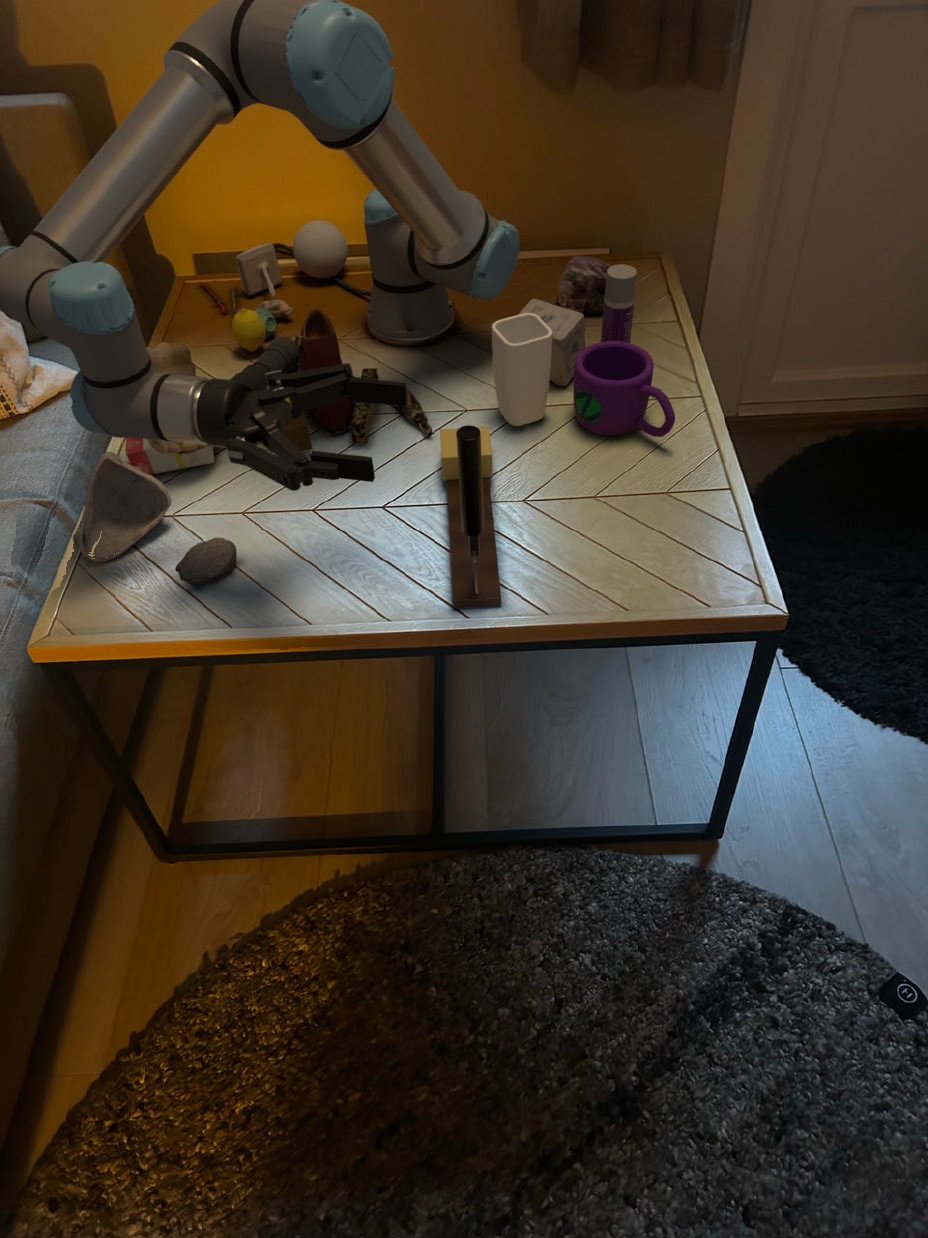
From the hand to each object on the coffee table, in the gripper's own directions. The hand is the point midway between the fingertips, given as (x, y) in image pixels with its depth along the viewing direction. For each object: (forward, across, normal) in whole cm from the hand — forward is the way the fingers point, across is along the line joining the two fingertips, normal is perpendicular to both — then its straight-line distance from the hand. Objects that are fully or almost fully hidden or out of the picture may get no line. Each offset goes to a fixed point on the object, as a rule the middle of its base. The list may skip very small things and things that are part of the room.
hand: (390, 430), depth 99 cm
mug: (+24, -38, -24) cm, 51 cm away
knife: (+9, 0, -22) cm, 24 cm away
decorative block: (-16, -34, -24) cm, 45 cm away
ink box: (-47, -18, -22) cm, 55 cm away
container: (+20, -56, -24) cm, 64 cm away
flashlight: (-34, -39, -24) cm, 57 cm away
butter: (+3, -23, -23) cm, 33 cm away
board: (+5, -13, -24) cm, 28 cm away
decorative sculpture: (-44, -64, -24) cm, 81 cm away
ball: (-36, -76, -24) cm, 88 cm away
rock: (+14, -71, -24) cm, 76 cm away
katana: (-53, -67, -24) cm, 88 cm away
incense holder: (+10, -50, -24) cm, 57 cm away
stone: (-26, +1, -26) cm, 36 cm away
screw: (-43, -55, -20) cm, 73 cm away
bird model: (-9, -35, -24) cm, 44 cm away
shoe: (-24, -39, -24) cm, 52 cm away
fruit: (-40, -49, -24) cm, 68 cm away
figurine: (-40, -22, -19) cm, 50 cm away
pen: (-49, -63, -24) cm, 83 cm away
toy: (-30, -34, -20) cm, 50 cm away
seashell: (-40, -1, -18) cm, 44 cm away
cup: (+8, -38, -24) cm, 45 cm away
